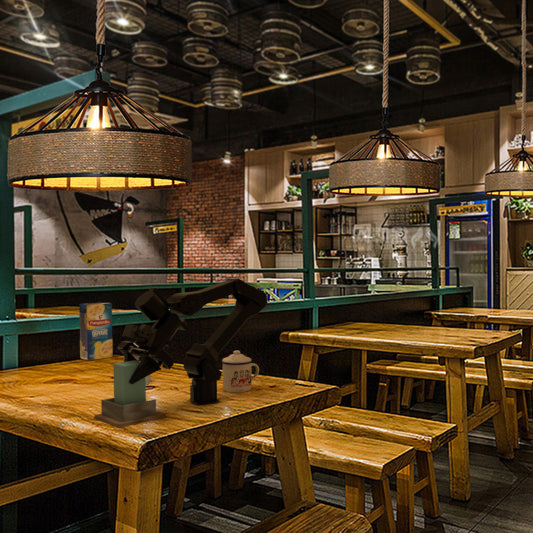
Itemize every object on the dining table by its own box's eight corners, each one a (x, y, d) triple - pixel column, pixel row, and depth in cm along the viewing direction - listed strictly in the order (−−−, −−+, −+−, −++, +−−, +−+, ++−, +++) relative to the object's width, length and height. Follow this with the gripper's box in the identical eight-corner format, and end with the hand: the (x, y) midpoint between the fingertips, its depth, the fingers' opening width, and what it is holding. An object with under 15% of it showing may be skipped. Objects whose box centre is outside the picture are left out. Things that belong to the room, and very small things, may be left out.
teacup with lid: (230, 394, 172) (230, 354, 171) (217, 388, 179) (216, 350, 179) (266, 389, 178) (265, 350, 178) (251, 384, 185) (251, 346, 185)
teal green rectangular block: (135, 403, 151) (134, 360, 151) (146, 406, 147) (145, 362, 147) (114, 407, 147) (113, 363, 147) (124, 411, 143) (123, 366, 143)
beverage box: (112, 356, 242) (112, 303, 242) (87, 360, 235) (86, 304, 235) (104, 355, 247) (103, 302, 247) (79, 358, 240) (79, 304, 240)
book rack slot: (140, 408, 156) (139, 391, 156) (165, 417, 147) (165, 399, 147) (94, 418, 147) (94, 400, 147) (118, 427, 138) (118, 408, 138)
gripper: (123, 310, 156) (85, 357, 149) (162, 314, 143) (122, 366, 135) (149, 337, 162) (114, 383, 154) (190, 343, 148) (153, 394, 141)
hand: (124, 381), depth 146 cm, fingers closed on teal green rectangular block, 5 cm apart
